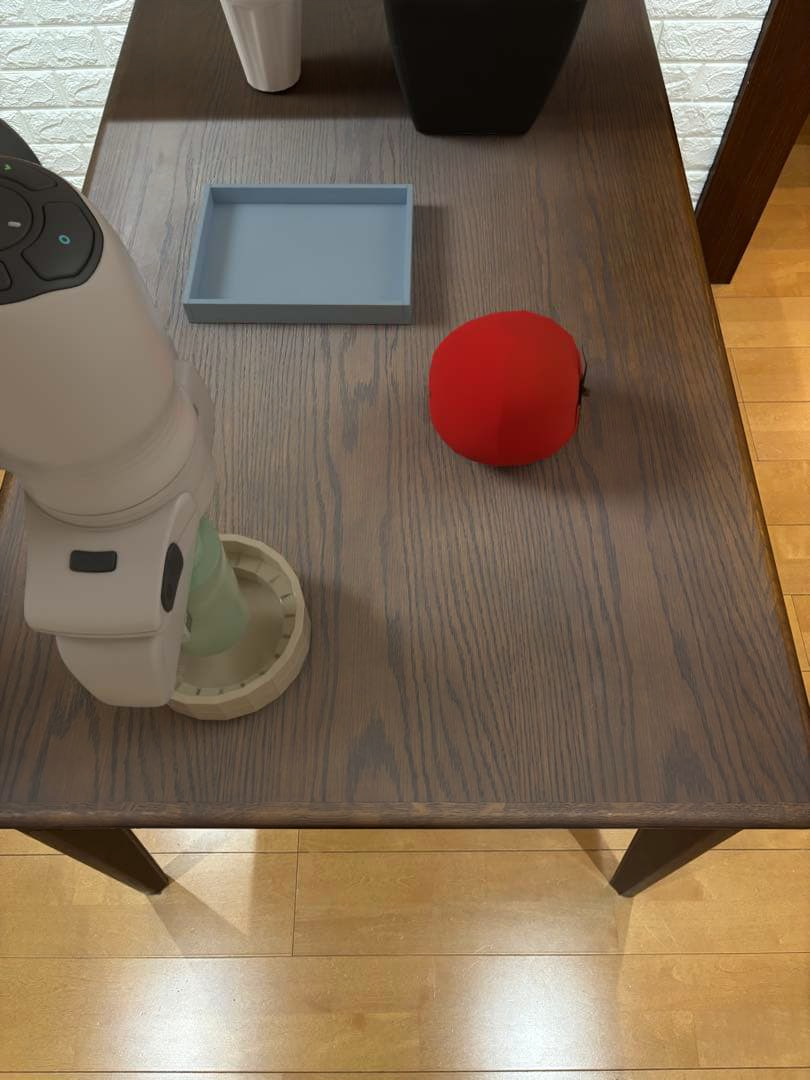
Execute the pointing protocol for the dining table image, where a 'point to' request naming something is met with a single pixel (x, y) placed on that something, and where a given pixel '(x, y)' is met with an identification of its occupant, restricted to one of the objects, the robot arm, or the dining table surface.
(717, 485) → the dining table surface
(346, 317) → the tray
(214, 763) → the dining table surface
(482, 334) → the tomato
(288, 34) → the cup
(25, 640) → the dining table surface
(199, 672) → the bowl
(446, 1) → the flower pot
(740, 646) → the dining table surface
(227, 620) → the bottle
